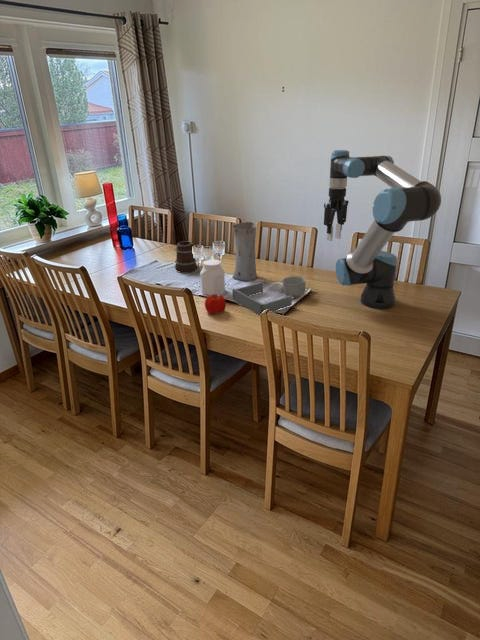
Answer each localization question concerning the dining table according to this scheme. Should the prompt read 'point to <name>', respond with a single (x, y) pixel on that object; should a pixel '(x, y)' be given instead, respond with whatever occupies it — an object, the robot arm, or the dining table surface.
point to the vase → (245, 251)
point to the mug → (185, 257)
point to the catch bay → (243, 298)
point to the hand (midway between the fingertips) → (333, 239)
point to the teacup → (294, 286)
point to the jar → (212, 278)
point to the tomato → (215, 304)
